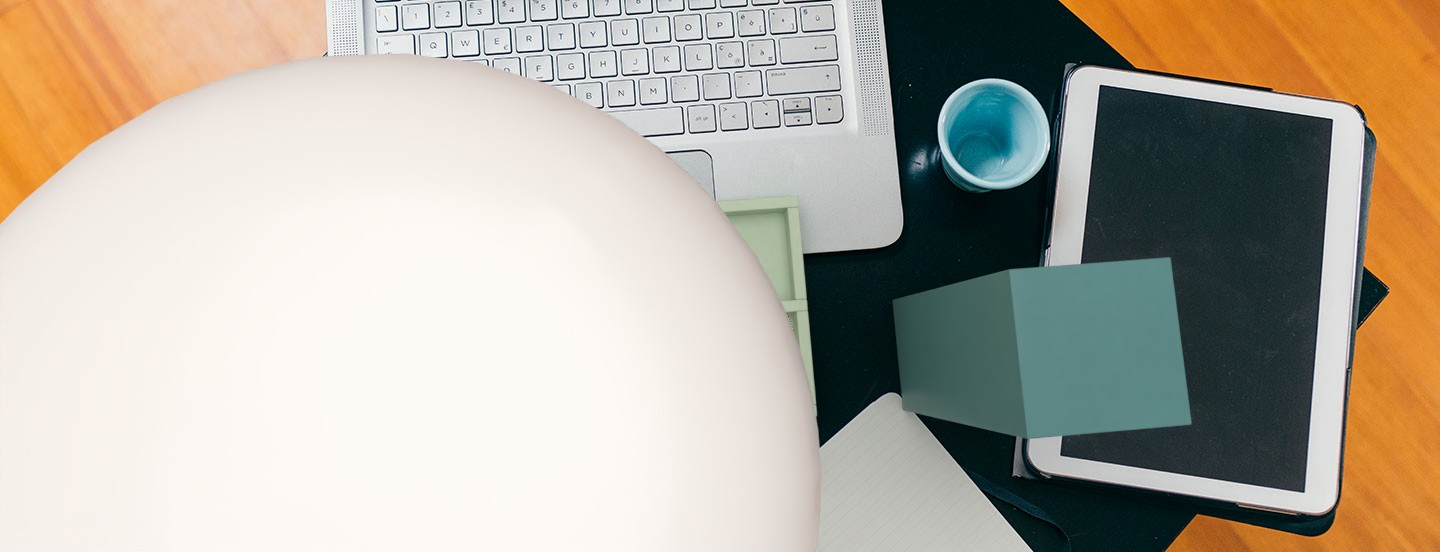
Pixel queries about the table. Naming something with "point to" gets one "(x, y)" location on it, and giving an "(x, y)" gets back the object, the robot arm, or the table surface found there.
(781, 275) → the grid
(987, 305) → the plinth
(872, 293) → the table surface
